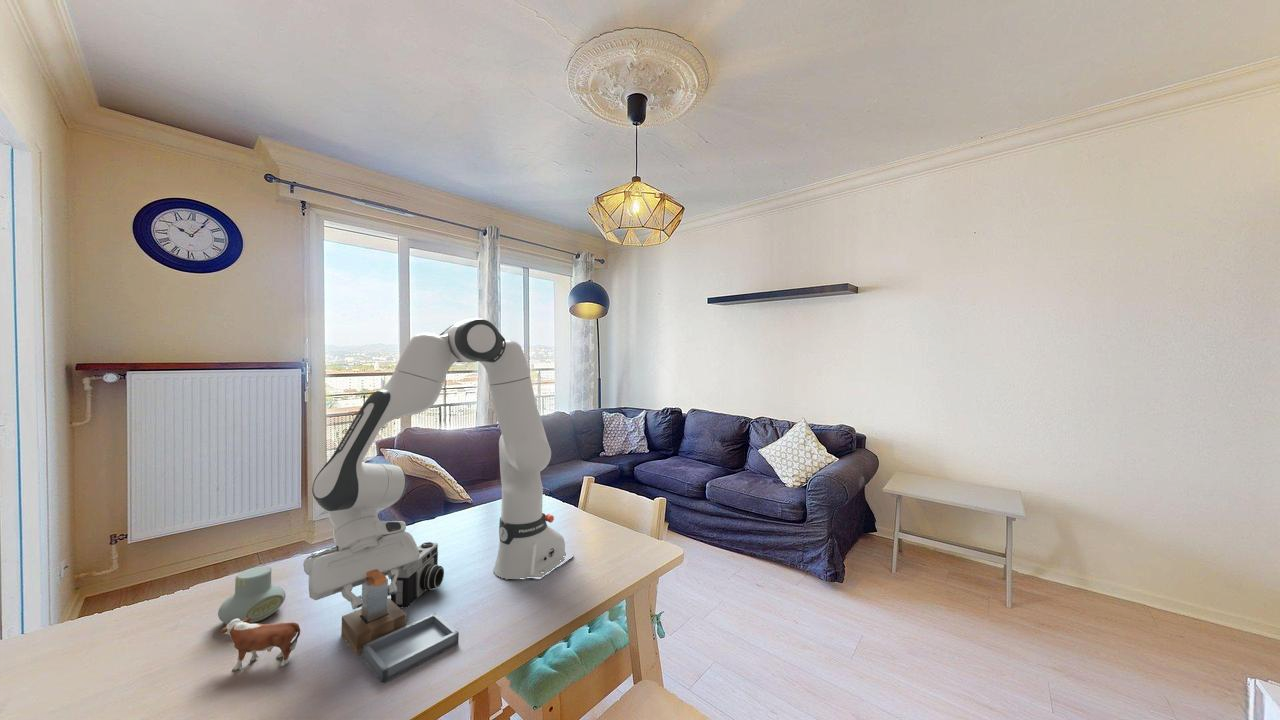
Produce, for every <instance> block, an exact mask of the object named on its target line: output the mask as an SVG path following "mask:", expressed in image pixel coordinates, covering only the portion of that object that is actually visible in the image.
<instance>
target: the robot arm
mask: <svg viewBox="0 0 1280 720" xmlns="http://www.w3.org/2000/svg"><path fill="white" fill-rule="evenodd" d="M476 362H479V363H480V364H481V365H482V366H483V368H484V370H485V371H486V374H487V379H488V385H489V389H490V390H489V391H490V395H491V401H492V404H493V409H494V414H495V417H496V419H497V422H498V425H499V428H500V433H501V435H500V436H499V440H498V453H499V454H498V455H499V471H500V482H501V509H500V510H501V516H500V517H499V525H498V536H499V545H498V551H497V556H496V559H495V564H494V567H493V573H494V572H495V573H494V574H495V576H497V577H498V576H499V577H498V578H500V577H501V578H500V579H503V578H505V579H504V580H508V579H520V578H527V577H542V576H543V575H545V574H546V573H547V572H549V571H551V570H552V569H553V568H555V567H556V566H557V565H559V564H560V563H561V562H563V561H564V560H565V559H564V558H565V557H563V556H566V552H565V547H566V543H565V538H564V537H563V535H562V533H560V532H558V531H557V530H555V529H554V528H553V527H551V526H549V525H548V524H547V522H548V523H550V524H551V523H553V522H554V521H555V516H554V515H553V514H550V513H548V514H545V513H543V501H544V500H543V499H544V498H543V496H544V493H543V492H544V487H543V483H542V478H541V472H542V471H543V470H544V469H546V468H547V466H548V465H549V463H550V461H551V459H552V450H551V446H550V444H549V441H548V438H547V434H546V430H545V428H544V424H543V420H542V418H541V415H540V412H539V409H538V406H537V402H536V397H535V393H534V387H533V383H532V378H531V373H530V369H529V365H528V362H527V359H526V355H525V353H524V351H523V349H522V346H521V344H519V343H518V342H517V341H514V340H512V339H505V337H504V336H503V335H502V334H501V333H500V332H499V330H498V329H497V327H496V325H494V324H493V323H492V322H491V321H489V320H487V319H484V318H481V317H471V318H466V319H463V320H460V321H458V322H456V323H455V324H453V325H451V326H449V327H448V328H446V329H445V330H444V331H443V332H441V333H440V334H439V335H438V334H436V333H432V332H421V333H417V334H415V335H414V336H413V337H412V338H411V339H410V341H409V342H408V343H407V345H406V347H405V349H404V350H403V352H402V354H401V355H400V357H399V359H398V361H397V364H396V367H395V368H394V371H393V373H392V375H391V376H390V379H389V380H388V381H387V383H386V384H385V385H384V386H383V387H382V388H380V389H379V390H377V391H374V392H372V393H371V394H369V396H368V397H367V399H366V400H365V401H364V403H363V404H362V406H361V408H360V409H359V410H358V412H357V413H356V415H355V417H354V419H353V421H352V422H351V424H350V426H349V428H348V429H347V431H346V433H345V434H344V436H343V438H342V439H341V440H340V442H339V444H338V446H337V447H336V449H335V450H334V452H333V454H332V456H331V457H330V458H329V459H328V461H327V462H326V463H324V465H323V467H322V468H321V469H320V470H319V472H318V473H317V475H316V477H315V478H314V481H313V483H312V487H311V489H312V490H311V491H312V496H313V498H314V500H315V501H316V503H317V504H318V505H319V506H320V507H321V508H322V509H324V510H325V511H327V515H328V519H329V521H330V523H331V524H332V526H333V530H332V536H333V542H334V546H333V547H332V546H331V547H329V548H326V549H324V550H320V551H314V552H312V553H311V554H310V555H308V556H307V557H306V558H305V559H304V561H303V569H304V573H305V574H306V575H308V595H309V598H310V599H312V600H314V601H318V600H321V599H324V598H326V597H329V596H332V595H335V594H337V593H341V596H342V598H344V599H345V600H346V601H348V602H349V603H350V604H351V609H352V610H354V611H355V610H357V609H360V608H362V605H363V600H362V594H360V595H358V596H357V595H356V594H354V593H353V592H352V591H353V590H354V588H355V587H358V586H362V580H364V579H367V574H366V572H369V571H372V570H375V569H377V570H379V571H380V572H381V573H382V574H383V575H384V576H386V577H388V578H387V579H388V580H390V583H389V584H388V597H389V596H390V597H391V595H392V594H395V593H396V592H397V587H396V580H397V577H398V574H399V572H398V571H401V570H404V569H407V568H410V567H412V566H414V565H415V564H416V562H417V561H418V559H419V556H420V554H419V550H418V548H417V547H418V545H417V543H416V541H415V538H414V537H413V535H412V534H410V532H407V531H406V529H407V525H406V522H405V521H402V520H398V521H397V520H394V521H393V520H392V521H391V520H380V518H379V513H380V512H381V511H385V510H387V509H388V508H390V507H392V506H393V505H395V504H396V503H397V502H399V501H400V500H401V499H402V498H403V496H404V495H405V493H406V490H407V486H408V482H407V480H408V479H407V475H406V472H405V470H403V468H402V467H401V466H399V465H397V464H389V463H378V462H376V463H370V462H363V461H364V459H365V457H366V455H367V453H368V452H369V450H370V448H371V447H372V444H373V443H374V441H375V439H376V438H377V435H379V432H380V431H381V429H383V427H384V426H385V425H387V424H388V423H390V422H392V421H394V420H397V419H400V418H404V417H408V416H415V415H417V414H421V413H423V412H425V411H427V410H429V409H430V408H432V406H434V404H435V403H436V402H437V400H438V399H439V396H440V394H441V391H442V390H443V389H442V388H443V385H444V383H445V380H446V377H447V373H448V372H449V370H450V368H451V367H452V366H453V365H454V364H455V363H469V364H470V363H476ZM560 560H561V561H560ZM541 572H544V573H541ZM391 578H392V580H391Z"/></svg>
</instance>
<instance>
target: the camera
mask: <svg viewBox="0 0 1280 720" xmlns="http://www.w3.org/2000/svg"><path fill="white" fill-rule="evenodd" d="M438 547H439V545H438V542H431V541H429V542H428V541H427V542H422V544H420V545H419V546H417V548H418V550H419V554H420V556H419V559H418V561H417V562H416V564H415V565H414V566H412V567H410V568H407V569H404V570H401V571H398V572H399V574H398V577H397V580H396V587H397V592H396V593H395V594H392V595H390V599H391V600H392V601H393V602H394V603H395V604H396V605H397V606H398V607H399V608H401V607H403V608H405V609H406V607H407V608H408V607H410V606H411V605H412V604H413V603H414V602H415V601H417V599H418V598H419V597H420V596H422V594H423V593H424V592H425V591H426V590H428V591H431V590H436V589H438V588H439V587H440V586H441V585H442V583H443V580H444V575H445V570H444V569H445V568H444V567H443V566H442V565H438V561H439V557H438V555H439V549H438ZM391 580H392V578H391V579H390V581H391ZM403 608H402V609H403Z"/></svg>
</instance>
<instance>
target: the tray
mask: <svg viewBox="0 0 1280 720" xmlns="http://www.w3.org/2000/svg"><path fill="white" fill-rule="evenodd" d="M459 634H460V633H459V631H458V630H457V629H456V628H455V627H453V625H451V624H450V623H448V622H447V621H446V620H445V619H444V618H443V617H441V616H440V615H439V614H438V613H436V612H434V613H432V614H430V615H427V616H425V617H423V618H421V619H418V620H416V621H414V622H412V623H409V624H406V626H405V627H403V628H400V629H398V630H396V631H394V632H391V633H389V634H387V635H385V636H383V637H380V638H378V639H376V640H374V641H372V642H369V643H367V644H365V645H363V653H362V657H361V658H362V659H363V660H364V662H365V663H366V664H367V666H368V667H369V668H370V670H371V671H372V672H373V673H374V675H375V676H376V677H377V679H378V680H379V681H380V682H381V684H382V685H383V684H385V683H387V682H389V681H391V680H393V679H394V678H395V679H396V678H397V677H399V676H401V675H403V674H404V673H406V672H408V671H410V670H412V669H414V668H416V667H417V666H419V665H422V664H423V663H425V662H427V661H430V660H431V659H433V658H435V657H437V656H438V655H440V654H442V653H444V652H446V651H449V649H452V648H454V647H456V646H457V645H459V641H460V640H459V639H460V638H459V637H460V635H459Z"/></svg>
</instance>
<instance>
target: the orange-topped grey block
mask: <svg viewBox="0 0 1280 720" xmlns="http://www.w3.org/2000/svg"><path fill="white" fill-rule="evenodd" d="M366 574H367V579H364V580H362V584H361V597H362V599H361V600H363V605H362V606H361V607H360V609H361V618H362V620H363V621H364V622H365V623H366V624H368V623H371V622H373V621H375V620H378V619H380V618H382V617H385V616H387V599H388V598H389V596H388V585H389V578H387V576H384V575H383V574H382V573H381V572H380V571H379V570H377V569H375V570H372V571H369V572H366Z"/></svg>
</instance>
